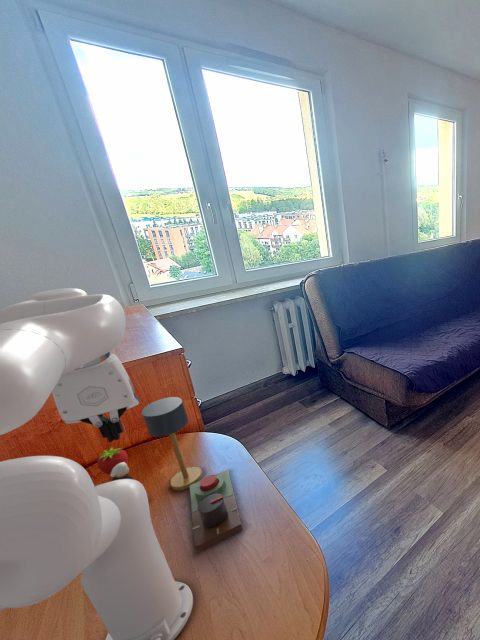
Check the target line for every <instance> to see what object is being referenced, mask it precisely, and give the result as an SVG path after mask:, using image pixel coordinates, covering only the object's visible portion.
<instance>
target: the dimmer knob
mask: <svg viewBox="0 0 480 640" xmlns="http://www.w3.org/2000/svg"><path fill="white" fill-rule="evenodd" d="M198 511H199V514H200V517H201V520H202V523H203V526H204V527H205V528H214V527H217V526H219V525H220V524H222V523H223V522H224V521H225V520H226V518H227V516H228V512H227V508H226V505H225V501H224V498H223V496H222V495H221V494H213V495H210V496H208V497H206V498H205V499H203V500H202V501H201V502H200V504H199V506H198Z"/></svg>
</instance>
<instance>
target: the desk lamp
mask: <svg viewBox="0 0 480 640" xmlns="http://www.w3.org/2000/svg"><path fill="white" fill-rule="evenodd" d="M141 416H142V418H143V421H144V424H145V426H146V429H147V431H148V434H149V436H151V437H154V438H161V437H166V436H169V440H170V442H171V445H172V448H173V452H174V454H175V457H176V460H177V463H178V466H179V469H180V470H179V471H178V472H177V473H175V474H174V475H173V476H172V477H171V479H170V482H169V485H170V488H172V490H174V491H184V490H187V489H190V487H189V485H192V484H194V483H197V482H199V481H201V480H202V478H203V471H202V468H200V466H199V467H198V466H189V467H187V466H186V462H185V461H184V456H183V454H182V451H181V447H180V445H179V441H178V439H177V436H176V433H177V432H179V431H180V430H182V429H183V428H185V427H186V425H187V424H188V422H189V418H188V416H187V412H186V409H185V406H184V402H183V400H182V398H181V397H178V396H169V397H163V398H159V399H157V400H154V401H152V402H151V403H148V404H147V405H146V406H144V408H143V409H142V410H141Z"/></svg>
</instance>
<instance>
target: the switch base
mask: <svg viewBox="0 0 480 640" xmlns="http://www.w3.org/2000/svg"><path fill="white" fill-rule="evenodd" d="M214 475H215V476H216V477H217V480H218V485H217V486H216V487H215V488H213V489H211V490H209V491H203V490H202V488H201V485H200V482H201V481H202V479H200V480H199V481H198V482H197V483H194V484H192V485H189V487H190V488H189V497H190V507H191V514H192V513H194V512H196V511H198V506H199V504H200V502H201V501H202V500H203V499H205V498H206V497H208V496H210V495H213V494H221V495H222V496H223V498H224V499H225V498H227V497H229V496H232V495H234V497H235V498H236V496H235V493H234V488H233V483H232V480H231V476H230V472H229V469H226V470H223V471H221V472H219V473H216V474H214Z"/></svg>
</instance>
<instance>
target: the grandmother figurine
mask: <svg viewBox="0 0 480 640" xmlns="http://www.w3.org/2000/svg"><path fill="white" fill-rule="evenodd" d="M129 473H130V468H129V466H128V463H127V464H126V463H125V462H122V463H119V464H117V465H116V466H115V467H114V468H113V470H112V472H111V474H110V475H109V477H111V478H113V479H112V481H115V480H120V479H133V480H134V477H133V476H132V475H130V474H129Z"/></svg>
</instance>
